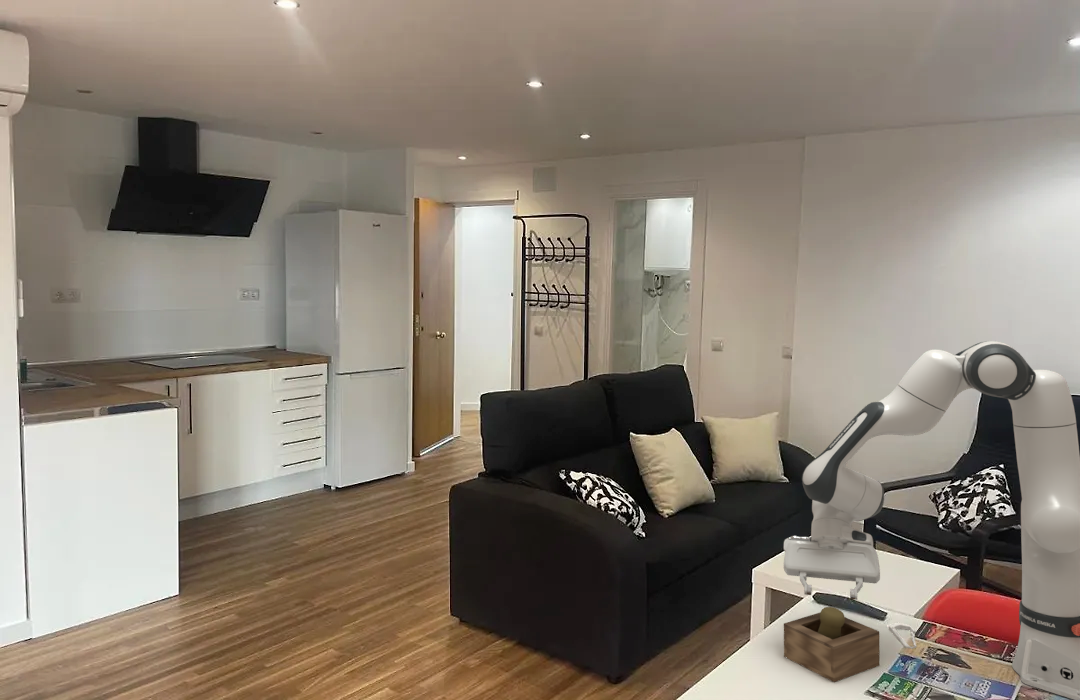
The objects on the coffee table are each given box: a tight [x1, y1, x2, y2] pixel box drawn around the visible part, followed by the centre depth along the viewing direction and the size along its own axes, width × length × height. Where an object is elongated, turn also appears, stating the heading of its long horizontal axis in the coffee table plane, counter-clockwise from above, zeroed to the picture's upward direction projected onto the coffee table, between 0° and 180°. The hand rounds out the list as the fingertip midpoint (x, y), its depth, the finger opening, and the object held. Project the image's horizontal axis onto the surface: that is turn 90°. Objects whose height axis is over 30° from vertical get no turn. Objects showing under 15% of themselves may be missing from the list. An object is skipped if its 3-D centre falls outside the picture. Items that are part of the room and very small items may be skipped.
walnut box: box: [783, 612, 881, 683], centre depth 175 cm, size 14×14×8 cm
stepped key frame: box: [886, 621, 918, 650], centre depth 186 cm, size 13×5×2 cm, turn 177°
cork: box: [818, 606, 846, 640], centre depth 174 cm, size 6×6×11 cm
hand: (830, 596), depth 174 cm, fingers open, 8 cm apart
